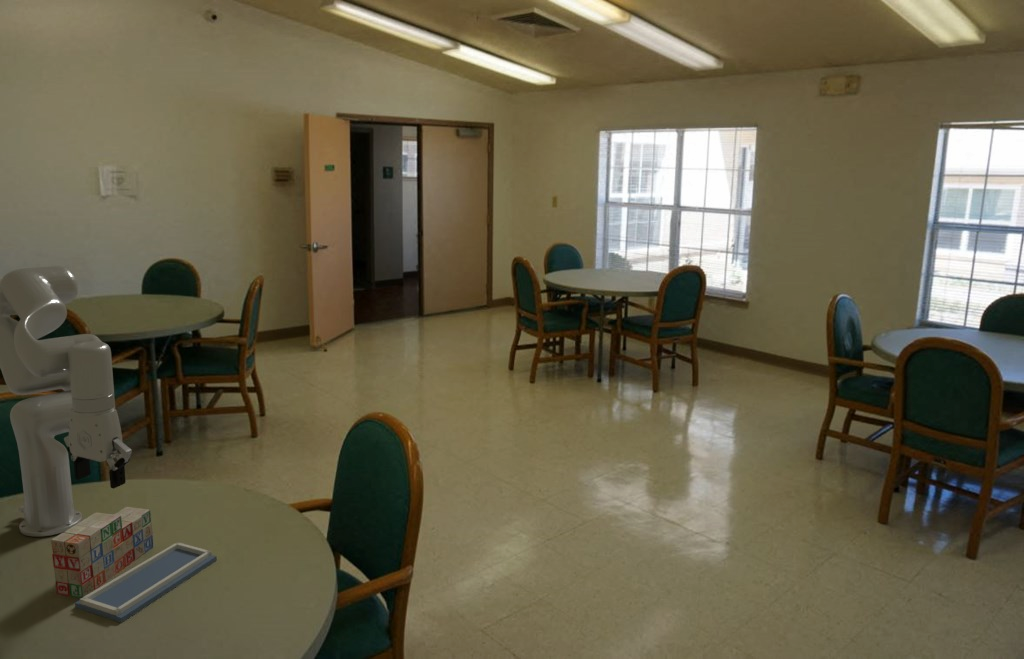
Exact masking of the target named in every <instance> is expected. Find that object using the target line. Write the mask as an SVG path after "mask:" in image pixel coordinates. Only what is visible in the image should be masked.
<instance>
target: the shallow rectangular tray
mask: <svg viewBox="0 0 1024 659" xmlns="http://www.w3.org/2000/svg"><path fill="white" fill-rule="evenodd" d="M216 561H217V556H216V555H213V554H212V550H207V549H204V548H200V547H196V546H193V545H191V544H186V543H183V542H178V541H177V542H175V543H173V544H171V545H170V546H167V547H166V548H165V549H163V550H162V551H160V552H158V553H156V554H154V555H153V556H151V557H149V558H148V559H146V560H144V561H143V562H141V563H138V564H137V565H136V566H134V567H133V568H130V569H128V570H127V571H126V572H123V573H122V574H120V575H119V576H117V577H115V578H114V579H112V580H109V581H107V582H106V583H104V584H103V585H101V586H100V587H99V588H97V589H96V590H94V591H93V592H91V593H89V594H88V595H86V596H84V597H83V598H79V600H77V601H75V602H74V607H75V608H76V609H79V610H82V611H85V612H88V613H91V614H94V615H97V616H100V617H104V618H106V619H109V620H112V621H114V622H118V623H124V622H125V621H126V620H128V619H129V618H130V619H131V617H132V616H134V615H136V614H138V612H140V611H142V610H144V609H145V608H147V607H148V606H149V605H151V604H152V603H154V602H155V601H157V600H159V599H160V598H161V597H163V596H165V595H166V594H167V593H169V592H170V591H172V590H174V589H175V588H176V587H178V586H180V585H181V584H182V583H184V582H186V581H187V580H189V579H190V578H192V577H194V576H196V574H198V573H200V572H201V571H203V570H204V569H206V568H207V567H208V566H210V565H212V564H213V563H215V562H216Z"/></svg>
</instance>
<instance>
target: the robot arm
mask: <svg viewBox="0 0 1024 659" xmlns="http://www.w3.org/2000/svg"><path fill="white" fill-rule="evenodd" d="M78 291H79V284H78V281H77V277H76V276H75V275H74V274H73V272H72V271H71V270H70V269H68V268H66V267H64V266H61V265H60V266H59V265H55V266H54V265H52V266H38V267H37V266H36V267H25V268H18V269H14V270H11V271H8V273H6V274H5V275H4V276H3V277H2V278H1V279H0V370H1V373H2V376H3V379H4V382H5V385H6V386H7V387H6V388H8V390H9V392H10V393H12V394H13V395H17V396H26V395H33V394H39V393H44V392H49V391H56V390H63V391H59V392H53V393H47V394H43V395H37V396H32V397H28V398H26V399H23V400H21V401H18V402H17V403H16V404H14V405H13V406H12V408H11V409H10V414H9V418H10V424H11V426H12V430H13V434H14V436H15V440H16V443H17V449H18V455H19V465H20V471H21V480H22V490H23V498H24V499H23V500H24V503H23V505H20V506H19V507H18V512H20V513H24V514H23V515H24V519H23V520H22V521H21V522H20V523H19V527H18V528H19V532H20V534H22V535H24V536H27V537H35V538H36V537H37V538H38V537H40V538H42V537H49V536H54V535H60V534H61V533H64V532H65V531H67V530H68V529H70V528H72V527H73V526H75V525H76V524H78V523H80V522H81V521H83V515H82V512H81V511H79V510H77V509H75V508H74V501H73V499H74V498H73V490H72V479H71V468H70V459H71V461H73V470H74V479H75V480H82V479H83V478H86V477H88V476H90V475H91V464H90V463H91V462H90V461H96V462H99V463H100V462H101V463H103V462H106V463H107V464H108V466H109V468H110V469H109V471H108V473H109V486H110V488H111V489H117V488H119V487H120V486H123V485H125V484H126V481H127V480H126V468H125V467H126V466H127V465H128V463H129V462H130V458H131V455H132V453H133V451H132V449H131V448H130V447H129V446H127V445H126V444H125V443H124V442H123V435H122V428H121V423H120V419H119V415H118V410H117V409H116V401H115V400H116V399H115V386H114V375H113V374H114V372H113V363H112V362H113V361H112V360H113V359H112V350H111V347H110V346H109V344H107V343H106V342H103V341H102V340H101V339H100V338H99V337H98V336H97V335H95V334H93V333H83V334H82V333H81V334H74V335H67V336H60V337H52V338H50V337H49V338H44V337H45V336H47V335H48V334H50V333H52V332H55V330H57V329H58V328H60V327H61V326H62V324H64V323H65V321H66V319H67V315H68V309H67V307H66V305H68V304H71V303H72V302H73V301H74V300H75V299H76V297H77V295H78V293H79V292H78ZM16 315H17V316H18V318H19V321H18V320H17V319H14V318H13V317H11V316H16ZM41 338H44V339H41ZM65 433H68V435H66V436H65V437H63V441H64V443H65V445H64V444H63V443H61V442H60V441H58V440H56V439H55V436H57V435H61V434H65ZM65 446H66V447H67V448H66V447H65ZM69 454H70V458H69ZM115 458H116V462H115V460H114V459H115Z"/></svg>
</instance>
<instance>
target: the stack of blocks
mask: <svg viewBox="0 0 1024 659" xmlns="http://www.w3.org/2000/svg"><path fill="white" fill-rule="evenodd" d="M151 516H152V514H151V509H148V508H147V509H146V508H139V507H132V506H124V508H122V509H120V510H119V511H118V512H115V513H114V514H111V513H103V512H96V511H95V512H94V513H92V514H91V515H89V516H87V517H86V518H84V519H82V520H81V522H80V523H78V524H76V525H75V526H73V527H72V528H70V529H68V530H67V531H65V532H62V533H59V534H57V536H55V537H53V538H52V539H51V541H50V542H51V551H52V554H51V555H52V556H51V559H52V565H53V570H54V578H55V590H56V594H57V595H61V596H65V597H66V596H68V597H72V598H73V597H74V598H79V599H81V598H83V597H84V596H86V595H88V594H89V593H91V592H92V591H95V589H98V588H100V587H101V586H103V585H105V584H106V583H108V582H109V581H111V579H112V578H114V577H116V575H117V574H118V573H120V572H121V571H123V569H125V568H126V567H127V566H128V567H129V565H130V564H132V563H133V562H135V561H136V560H137V559H139V558H140V557H142V556H143V555H144V554H146V553H147V552H149V551H150V550H151V549H153V548H154V536H153V532H154V531H153V523H152V518H151Z"/></svg>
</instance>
